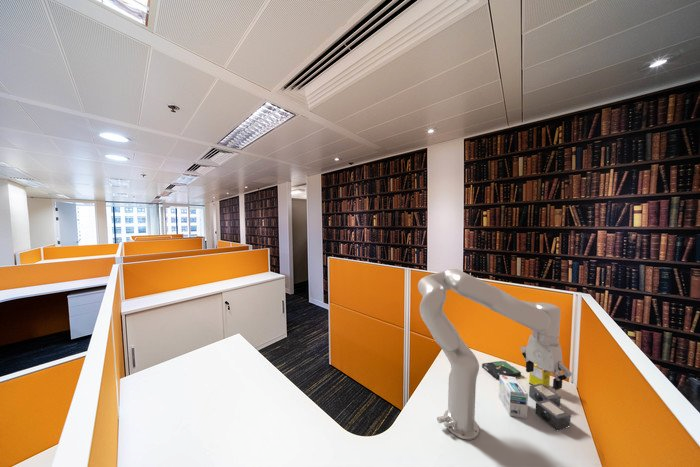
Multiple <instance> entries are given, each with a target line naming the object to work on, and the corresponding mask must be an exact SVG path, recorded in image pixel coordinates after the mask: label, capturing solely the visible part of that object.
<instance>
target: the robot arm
mask: <svg viewBox="0 0 700 467" xmlns="http://www.w3.org/2000/svg"><path fill="white" fill-rule="evenodd" d="M417 289H418V292H419V294H420V295H421V296H422V298H421V301H420V303H419V315H420V317H421V319H422V321H423V322H424V324H425V326H426V327H427V329H428V330H429V333H430V334H431V336H432V338H433V339H434V341H435V342H436V344H437V345H438V346H439V348H441V350H442V351H443V354H445V357H446V358H447V360H448V362H449V364H450V372H449V375H448V392H447V393H448V395H447V396H448V398H447V410H445V412H444V413H443V416H437V417H436V420H437V423H438V424H442V423H443V425H444V427H445V428H446V429H447V430H448V431H449V433H450V432H451V433H452V435H454V436H456V437H458V438H460V439H463V440H473V439H476V438H477V437H478V436H479V433H480V430H479V425H478V423H477V421H476V420H475V419H476V418H475V415H476V413H475V412H476V410H475V409H476V391H477V387H476V386H477V378H478V375H479V372H480V364H479V360H478V359H477V357H476V354H474V352H473V351H472V350H471V348H469V346H468V344H466V342H464V340H463V339H462V337H461V336H460V333H459V331H458V329H456V327H455V325H454V324H453V323H452V322H451V321H450V320H449V318H448V316H447V315H446V313H445V312H444V310H443V309H444V304H445V302H446V300H447V291H449V290H452V292H455V293H456V294H458V295H459V296H461V297H464V298H466V299H467V300H470V301H472V302H475V303H477V304H479V305H480V306H483V307H485V308H487V309H490V310H491V311H492V312H494V313H497V314H499V315H502V316H504V317H506V318H507V319H509V320H512V321H513V322H516V323H518V324H520V325H522V326H524V327H526V328H528V329H529V330H530V331H531V332H532V334H530V335H529V336H528V337H529V338H528V341H527V344H526V346H523V345H522V346H520V347H519V348H520V350H521V355H522V357H523V358H524V361H525V372H526V373H530V372H533V371H534V363H535V364H536V365H538V366H540V367H541V368H543V369H545V370H547V371H548V372H550V374H552V375H553V377H554V378H553V380H552V381H553V382H552V390H553V391H558V390H561V389H562V388H563V380H568V379H570V378H571V377H572V376H573V372H572V371H570V370H569V368H567V367H566V366H565V365H564V363H563V352H562V347H561V344H560V332H561V330H560V327H561V316H562V315H561V314H562V311H561V308H560V307H559V306H557V305H555V304H553V303H547V302H532V301H526V300H520V299H518V298H516V297H515V296H513V295H511V294H509V293H508V292H506V291H504V290H502V289H500V288H499V287H497V286H495V285H493V284H490V283H487V282H486V281H484V280H481V279H479V278H478V277H475V276H472V275H471V274H469V273H466V272H464V271H462V270H461V269H458V268H451V269H447V270H443V271H440V272H439V271H438V272H436V273H433V274H429V275H428V274H427V275H426V276H424V277H422V278H420V280H419V281H418V283H417ZM562 372H563V373H562Z"/></svg>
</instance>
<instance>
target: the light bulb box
mask: <svg viewBox="0 0 700 467" xmlns="http://www.w3.org/2000/svg"><path fill="white" fill-rule="evenodd" d="M498 381H499V383H498V384H499V385H498V386H499V387H498V398H499V400H500V401H501V403H502V405H503V407H504V408H505V410H506V412H507V414H508V415H509V417H516V418H522V419H528V405H529V404H528V402H529V400H528V399H529V392H527V391H526V390H525V388H524V387H523V386H522V384H521V383H520V382H519V381H518V379H517V377H510V376H503V375H500V379H499V380H498Z"/></svg>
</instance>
